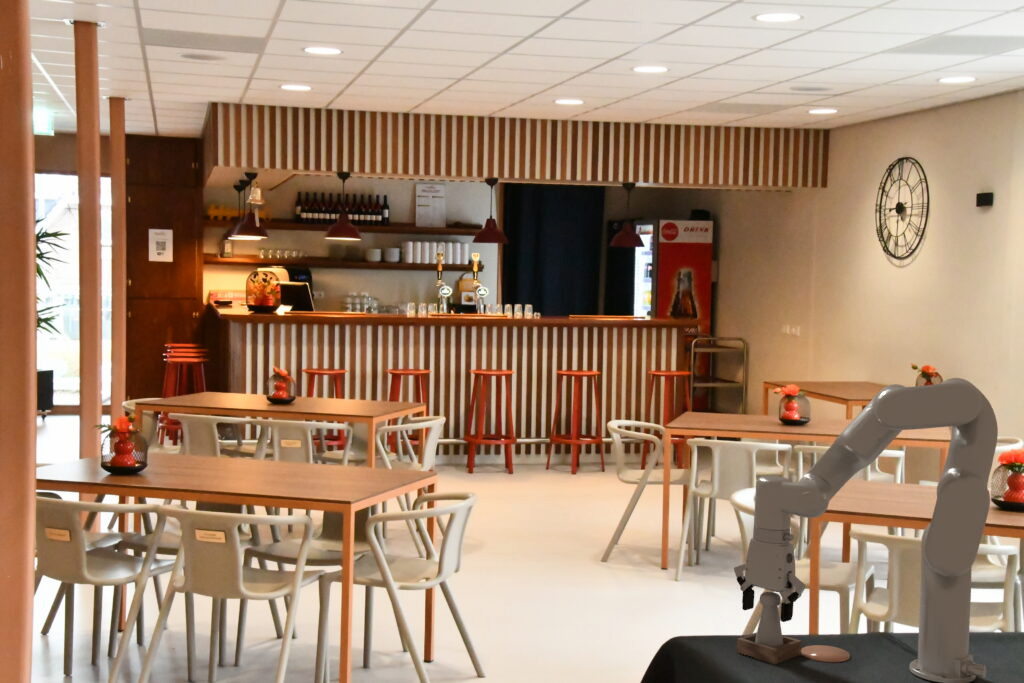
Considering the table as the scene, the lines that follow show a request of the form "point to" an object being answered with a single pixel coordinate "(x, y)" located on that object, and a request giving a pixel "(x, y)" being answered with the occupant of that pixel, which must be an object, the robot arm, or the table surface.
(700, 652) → the table surface
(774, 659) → the square wooden frame
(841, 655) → the orange round disc
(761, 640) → the salt shaker
